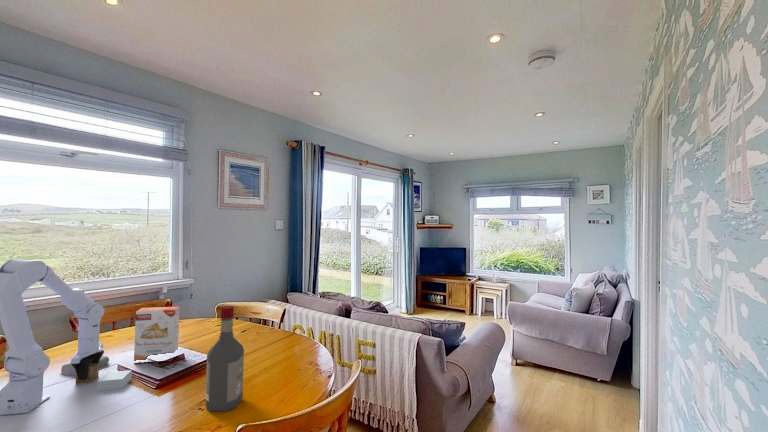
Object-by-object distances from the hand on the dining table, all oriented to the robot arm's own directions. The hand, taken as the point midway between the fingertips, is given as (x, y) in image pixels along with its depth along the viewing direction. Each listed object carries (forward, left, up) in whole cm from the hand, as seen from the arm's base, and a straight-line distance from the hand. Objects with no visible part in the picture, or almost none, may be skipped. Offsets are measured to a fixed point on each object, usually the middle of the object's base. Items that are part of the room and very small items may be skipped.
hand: (87, 376), depth 119 cm
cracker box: (+15, -16, -2) cm, 22 cm away
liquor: (-26, -50, -2) cm, 56 cm away
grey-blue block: (-6, -11, -2) cm, 12 cm away
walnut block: (0, 0, -1) cm, 1 cm away
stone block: (+11, +7, -2) cm, 14 cm away
